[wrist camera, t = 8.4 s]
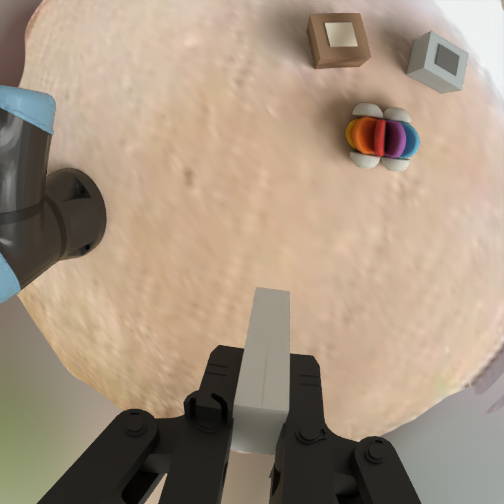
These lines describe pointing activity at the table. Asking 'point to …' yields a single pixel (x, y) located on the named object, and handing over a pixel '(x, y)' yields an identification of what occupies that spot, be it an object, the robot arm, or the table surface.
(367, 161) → the rainbow segmented toy
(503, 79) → the table surface
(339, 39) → the walnut block
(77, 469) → the robot arm
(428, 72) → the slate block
